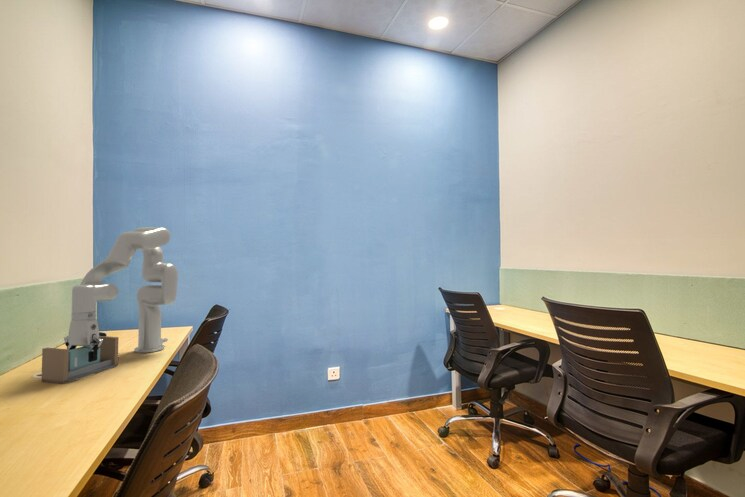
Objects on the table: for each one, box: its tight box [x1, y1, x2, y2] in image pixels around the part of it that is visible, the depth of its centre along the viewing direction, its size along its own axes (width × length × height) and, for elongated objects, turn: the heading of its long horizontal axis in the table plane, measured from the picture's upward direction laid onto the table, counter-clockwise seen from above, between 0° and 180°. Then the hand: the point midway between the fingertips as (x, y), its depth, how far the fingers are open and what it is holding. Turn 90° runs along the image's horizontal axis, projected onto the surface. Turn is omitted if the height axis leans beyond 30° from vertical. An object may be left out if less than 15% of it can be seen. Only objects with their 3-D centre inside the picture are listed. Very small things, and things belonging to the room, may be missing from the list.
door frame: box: [41, 336, 119, 385], centre depth 143 cm, size 22×10×12 cm, turn 168°
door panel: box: [68, 346, 100, 372], centre depth 143 cm, size 12×3×9 cm, turn 168°
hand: (82, 360), depth 143 cm, fingers open, 9 cm apart
